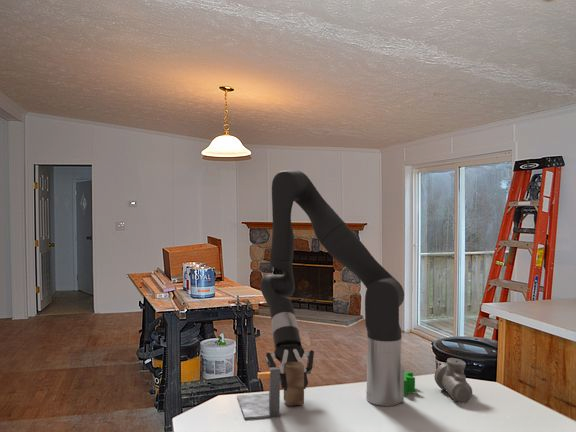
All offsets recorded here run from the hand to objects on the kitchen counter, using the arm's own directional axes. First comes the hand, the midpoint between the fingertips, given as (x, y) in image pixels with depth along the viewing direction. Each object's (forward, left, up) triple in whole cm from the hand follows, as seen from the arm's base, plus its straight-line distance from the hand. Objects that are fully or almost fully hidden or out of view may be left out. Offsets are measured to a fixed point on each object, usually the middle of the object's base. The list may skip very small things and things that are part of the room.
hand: (295, 388), depth 132 cm
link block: (0, -2, -4) cm, 4 cm away
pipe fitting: (-46, +1, -5) cm, 46 cm away
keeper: (+10, -2, -5) cm, 11 cm away
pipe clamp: (-35, -6, -5) cm, 36 cm away
